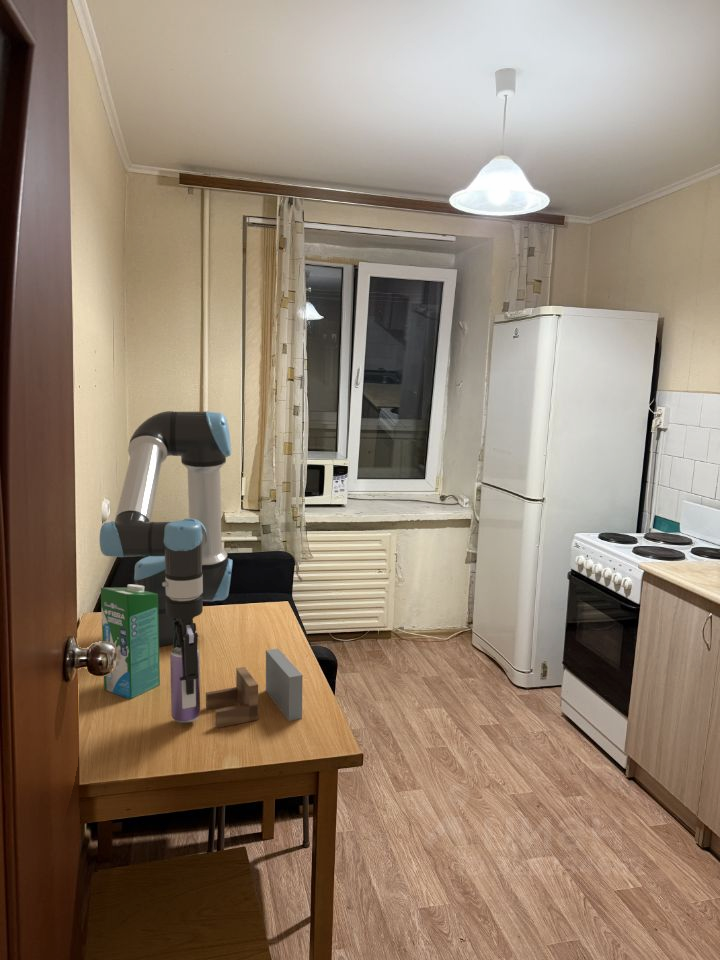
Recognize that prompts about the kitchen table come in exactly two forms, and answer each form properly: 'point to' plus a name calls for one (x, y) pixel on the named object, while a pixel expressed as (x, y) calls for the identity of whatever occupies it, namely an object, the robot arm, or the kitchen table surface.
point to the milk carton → (131, 639)
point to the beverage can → (176, 690)
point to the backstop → (284, 684)
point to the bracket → (235, 700)
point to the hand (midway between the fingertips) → (185, 699)
